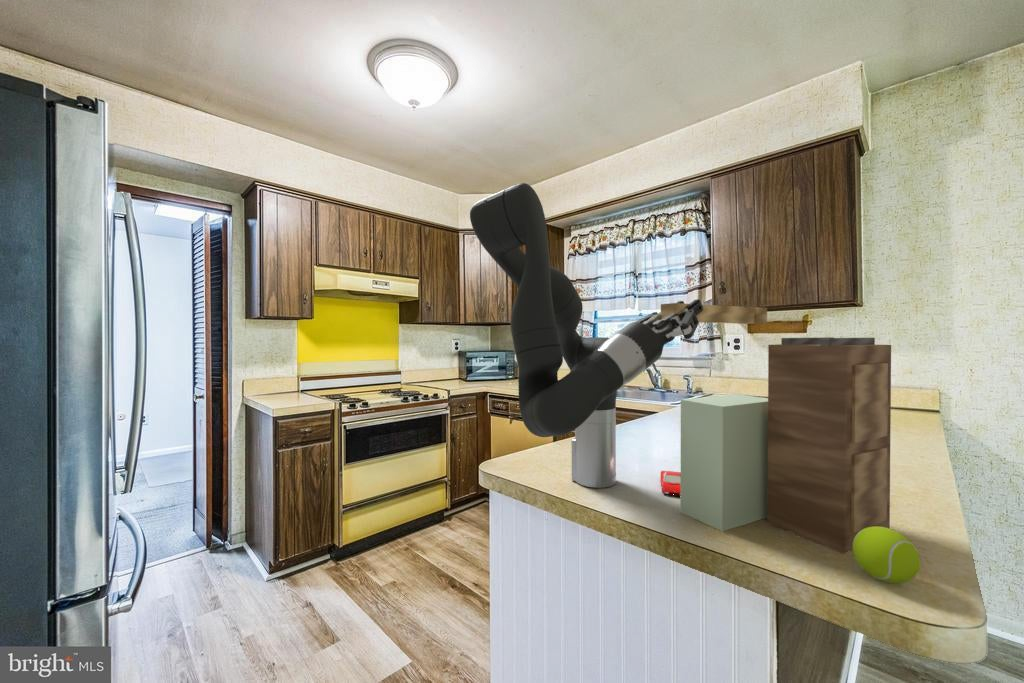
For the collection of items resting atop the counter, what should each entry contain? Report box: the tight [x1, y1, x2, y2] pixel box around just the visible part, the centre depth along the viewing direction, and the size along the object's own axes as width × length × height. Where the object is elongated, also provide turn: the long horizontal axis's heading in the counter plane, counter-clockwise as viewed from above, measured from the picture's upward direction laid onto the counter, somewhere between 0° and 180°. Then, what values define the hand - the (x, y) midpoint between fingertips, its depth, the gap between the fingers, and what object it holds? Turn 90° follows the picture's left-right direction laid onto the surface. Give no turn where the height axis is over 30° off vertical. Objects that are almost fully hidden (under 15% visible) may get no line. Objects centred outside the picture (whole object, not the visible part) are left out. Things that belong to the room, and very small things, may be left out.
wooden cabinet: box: [767, 336, 892, 554], centre depth 74 cm, size 14×12×33 cm
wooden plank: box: [660, 302, 768, 325], centre depth 79 cm, size 24×4×3 cm, turn 116°
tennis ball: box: [852, 526, 921, 584], centre depth 59 cm, size 7×7×7 cm
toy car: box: [659, 470, 681, 498], centre depth 95 cm, size 12×5×3 cm, turn 161°
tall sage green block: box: [680, 393, 768, 532], centre depth 81 cm, size 16×9×22 cm, turn 116°
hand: (691, 305), depth 76 cm, fingers closed on wooden plank, 3 cm apart
